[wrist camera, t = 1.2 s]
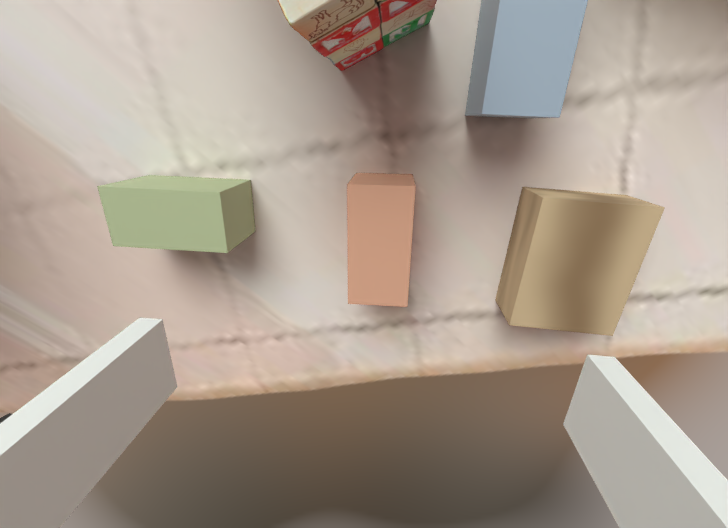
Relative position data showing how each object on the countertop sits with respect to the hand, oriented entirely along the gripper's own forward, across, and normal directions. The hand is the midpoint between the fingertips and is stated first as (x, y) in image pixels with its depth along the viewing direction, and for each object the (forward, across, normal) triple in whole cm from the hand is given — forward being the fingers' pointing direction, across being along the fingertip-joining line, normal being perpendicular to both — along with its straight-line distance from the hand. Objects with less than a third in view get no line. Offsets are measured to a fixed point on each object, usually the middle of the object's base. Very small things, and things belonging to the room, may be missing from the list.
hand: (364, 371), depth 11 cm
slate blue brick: (+17, +7, +12) cm, 22 cm away
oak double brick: (+17, +13, -1) cm, 21 cm away
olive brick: (+17, -14, +1) cm, 22 cm away
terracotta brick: (+17, 0, 0) cm, 17 cm away
